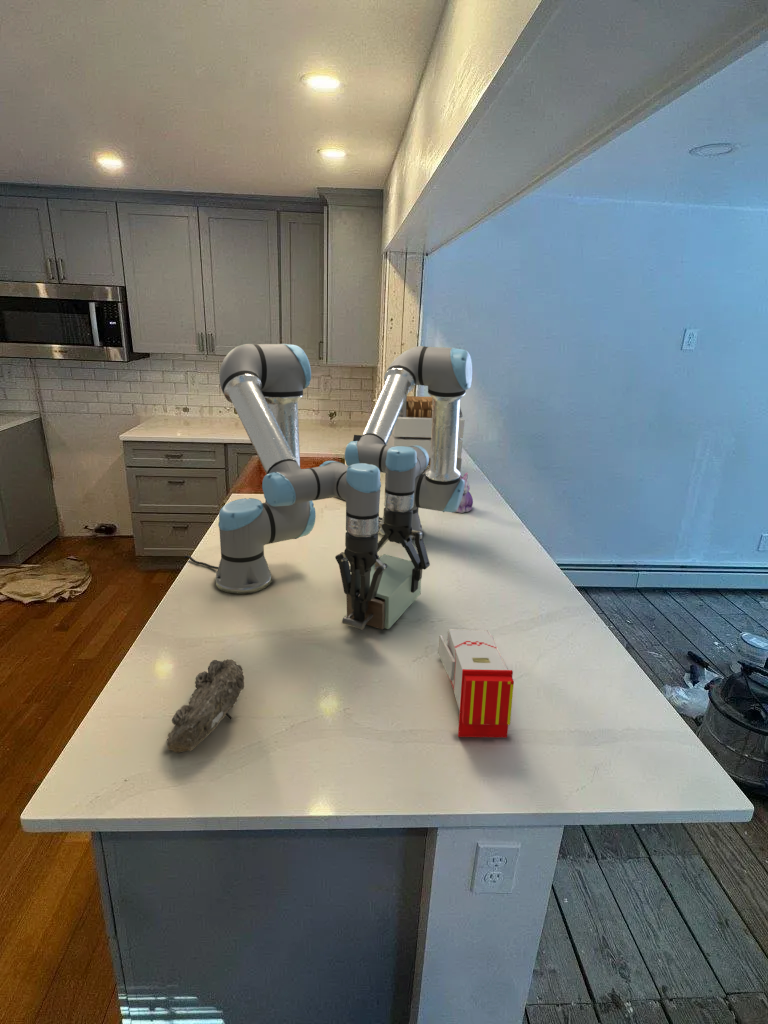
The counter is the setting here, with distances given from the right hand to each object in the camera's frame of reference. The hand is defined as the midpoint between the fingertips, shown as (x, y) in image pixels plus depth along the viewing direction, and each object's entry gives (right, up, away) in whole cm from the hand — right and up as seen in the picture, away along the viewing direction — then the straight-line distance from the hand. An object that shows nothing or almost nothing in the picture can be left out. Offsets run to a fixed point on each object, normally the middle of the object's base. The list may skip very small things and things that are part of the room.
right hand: (393, 584), depth 152 cm
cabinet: (-2, -5, -2) cm, 6 cm away
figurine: (+29, +20, +75) cm, 83 cm away
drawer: (-5, -6, -7) cm, 10 cm away
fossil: (-35, -20, -44) cm, 60 cm away
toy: (+15, -18, -33) cm, 41 cm away
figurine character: (-17, +53, +161) cm, 170 cm away
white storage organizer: (+15, +38, +123) cm, 130 cm away
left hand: (-9, -7, -14) cm, 18 cm away
